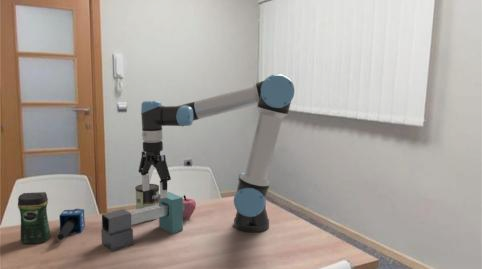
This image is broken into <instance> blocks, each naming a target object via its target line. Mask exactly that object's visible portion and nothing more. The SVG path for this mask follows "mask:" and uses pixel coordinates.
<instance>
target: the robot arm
mask: <svg viewBox="0 0 482 269" xmlns="http://www.w3.org/2000/svg"><path fill="white" fill-rule="evenodd" d="M294 96H295V86H294V83H293V81H292V80H291V79H290V78H289V77H288V76H287V75H285V74H279V73H274V74H271V75H269V76H267V77H266V78H265V79H264V80H261V81H259V82H254V84H253V86H249V87H245V88H241V89H238V90H237V89H236V90H234V91H229V92H226V93H223V94H222V93H221V94H219V95H215V96H211V97H208V98H203V99H200V100H196V101H192V102H187V103H182V104H181V105H173V106H172V105H168V106H164V105H162V102H161V100H144V101H142V102H141V108H140V110H141V112H140V115H141V130H142V133H141V136H142V141H143V142H142V151H141V158H140V162H139V166H138V173H140V175H141V181H142V182H141V185H142V189H143V191H147V190H149V184H150V169H151V167H152V166H153V167H154V168H155V170H156V172H157V174H158V178H159V179H160V180H159V194H160V198H161V199H163V198H167V197H168V196H167V192H168V182H169V181H171V180H172V178H171V175H170V171H169V167H168V163H167V161H166V160H167V159H166V155H165V154H162V155H161V152H162V151H163V150H164V146H163V145H164V144H163V141H162V140H163V126H164V127H166V126H168V127H169V126H171V127H174V126H175V127H188V126H189V127H190V126H192V125H193V122H194V121H198V120H202V119H206V118H209V117H212V116H217V115H222V114H225V113H228V112H233V111H237V110H241V109H246V108H248V107H249V108H250V107H254V106H256V105H257V106H256V108H257V109H258V111H259V115H258V120H257V123H256V127H255V130H254V136H253V138H252V144H251V148H250V151H249V156H248V160H247V164H246V168H245V171H244V172H241V173H239V174H238V184H237V187H236V188H237V189H236V192H235V195H234V197H233V204H234V207H235V209H236V214H235V217H234V219H233V227H234V228H235V229H236V230H238V231H240V232H241V231H242V232H246V233H260V232H264V231H266V230H268V229H269V227H270V219H269V217H268V212H267V209H266V208H267V207H266V206H267V204H266V203H267V200H266V199H267V196H268V191H269V188H270V187H269V186H270V182H269V180H268V176H269V172H270V169H271V164H272V160H273V157H274V152H275V148H276V144H277V140H278V137H279V134H280V129H281V125H282V121H283V118H284V117H287V116H288V114H289V110H290V108H291V107H290V106H291V104H292V101H293V98H294Z"/></svg>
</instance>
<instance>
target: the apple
mask: <svg viewBox="0 0 482 269" xmlns="http://www.w3.org/2000/svg"><path fill="white" fill-rule="evenodd" d="M182 197H183V220H186V219H190V218H191V216H192V215H193V213H194V211H195V210H196V207H197V204H196V203H197V202H196V200H195V199H192V198H187V197H186V194H185V195H183V196H182Z"/></svg>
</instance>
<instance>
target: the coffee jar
mask: <svg viewBox="0 0 482 269" xmlns="http://www.w3.org/2000/svg"><path fill="white" fill-rule="evenodd" d="M48 204H49V198H48V195H47V193H46V191H43V192H42V191H39V192H23V193H21V194H20V195H19V196H18V200H17V208H18V210H19V213H20V235H19V236H20V237H19V238H20V243H21V244H24V245H27V244H28V245H29V244H30V245H31V244H32V245H34V244H40V243H41V244H42V243H44V242H46V241H48V240H49V239H50V237H51V230H50V225H49V219H48V212H47V210H48V209H47V206H48Z"/></svg>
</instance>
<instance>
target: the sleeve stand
mask: <svg viewBox="0 0 482 269" xmlns="http://www.w3.org/2000/svg"><path fill="white" fill-rule="evenodd" d="M101 226H102V228H101V230H100V231H101V232H100V234H101V245H102V246H103V247H105V248H106V249H107V250H108V251H109V252H110V253H111V252H114V251H115V252H116V251H117V250H121V249H125V248H128V247H131V246H134V229H133V228H132V226H133V225H131V213H130V212H128V210H127V209H124V208H122V209H118V210H115V211H114V210H113V211H109V212H106V213H102V214H101Z"/></svg>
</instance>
